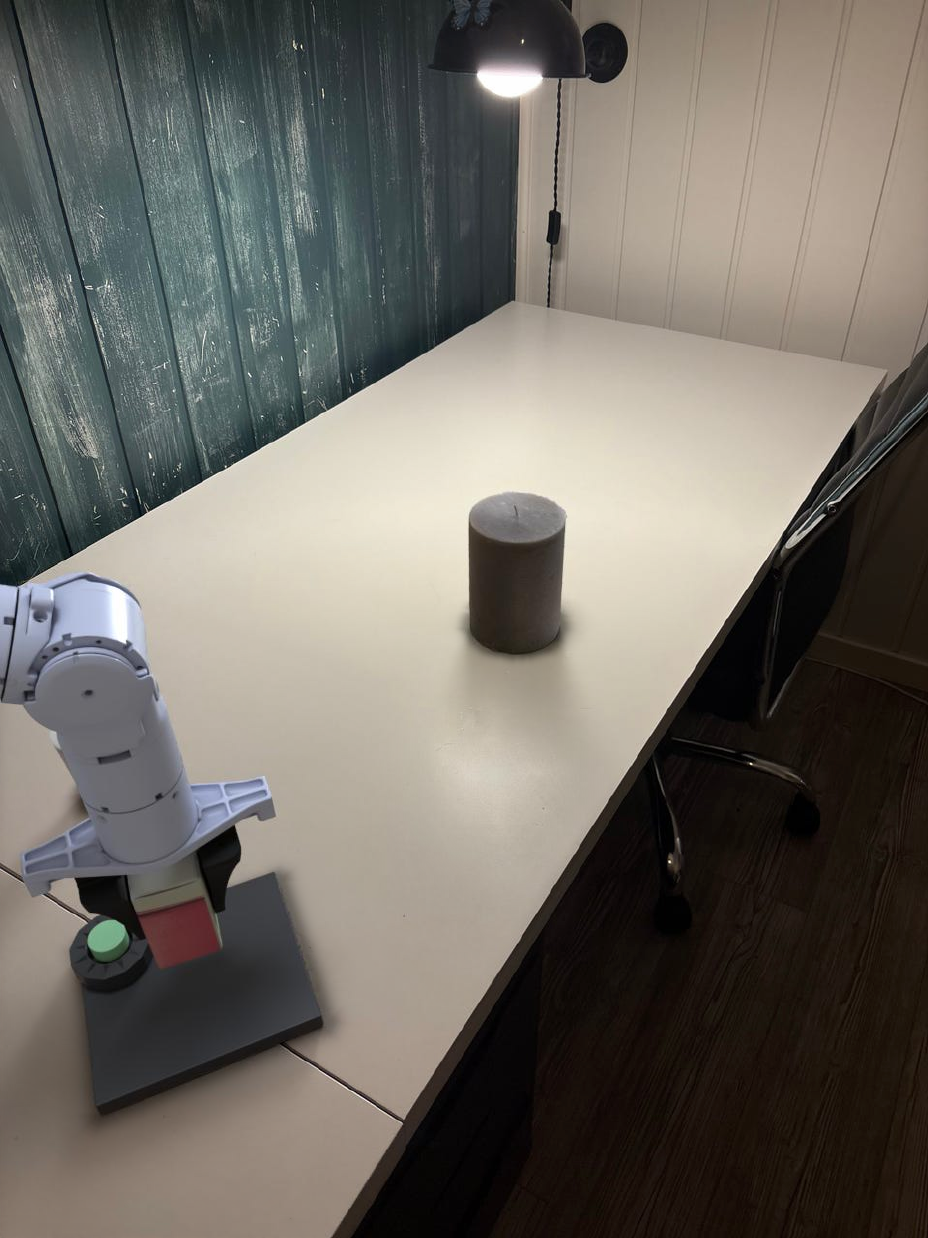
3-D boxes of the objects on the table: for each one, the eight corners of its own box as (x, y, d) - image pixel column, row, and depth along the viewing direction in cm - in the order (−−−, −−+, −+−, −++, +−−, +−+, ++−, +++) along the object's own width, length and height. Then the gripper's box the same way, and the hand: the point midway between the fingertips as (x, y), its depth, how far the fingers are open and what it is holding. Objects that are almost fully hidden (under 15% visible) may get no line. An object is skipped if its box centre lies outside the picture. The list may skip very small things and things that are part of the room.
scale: (96, 1118, 59) (84, 1097, 57) (78, 948, 69) (66, 926, 67) (323, 1026, 64) (319, 1003, 62) (276, 879, 73) (271, 855, 72)
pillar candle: (484, 661, 94) (483, 539, 84) (459, 605, 101) (456, 487, 92) (573, 644, 96) (583, 522, 86) (542, 590, 103) (548, 472, 93)
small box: (150, 910, 63) (121, 837, 58) (213, 890, 64) (190, 818, 59) (158, 973, 59) (128, 901, 55) (224, 951, 61) (201, 879, 56)
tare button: (94, 968, 65) (89, 957, 64) (90, 937, 67) (85, 927, 66) (132, 954, 66) (127, 944, 65) (127, 925, 67) (122, 914, 67)
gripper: (241, 694, 57) (273, 832, 66) (-8, 765, 53) (61, 903, 61) (269, 772, 52) (300, 910, 61) (-4, 858, 48) (70, 995, 56)
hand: (181, 913), depth 61 cm, fingers closed on small box, 4 cm apart
